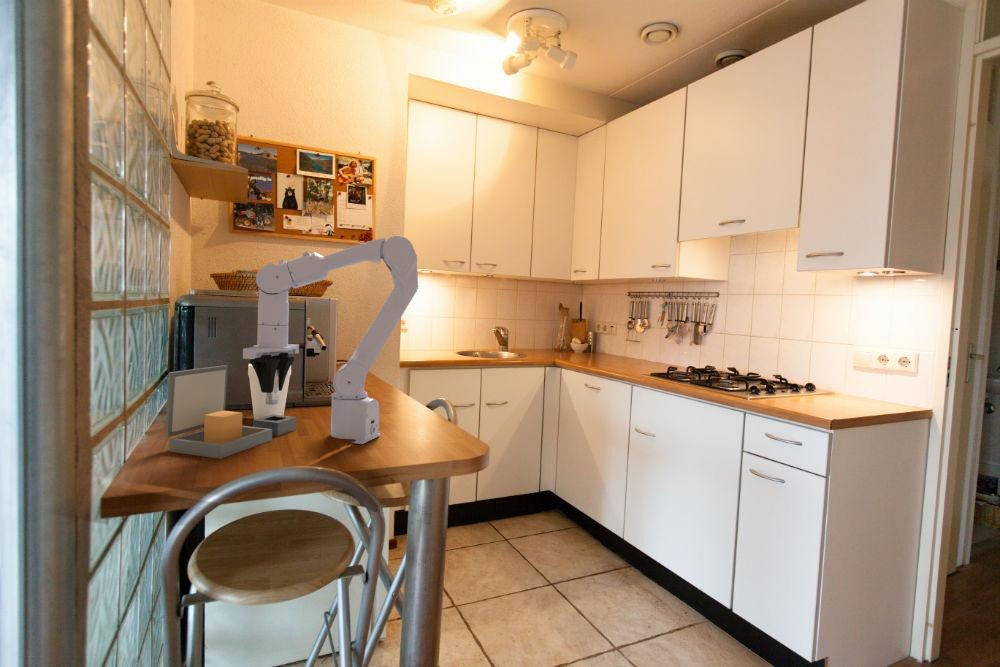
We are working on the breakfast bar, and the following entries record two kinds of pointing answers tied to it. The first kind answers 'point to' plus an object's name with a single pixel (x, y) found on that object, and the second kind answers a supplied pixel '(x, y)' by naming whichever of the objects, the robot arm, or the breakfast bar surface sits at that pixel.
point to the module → (222, 427)
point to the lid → (194, 398)
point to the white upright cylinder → (273, 397)
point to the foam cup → (259, 397)
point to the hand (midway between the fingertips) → (271, 391)
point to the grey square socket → (276, 424)
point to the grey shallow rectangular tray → (197, 446)
